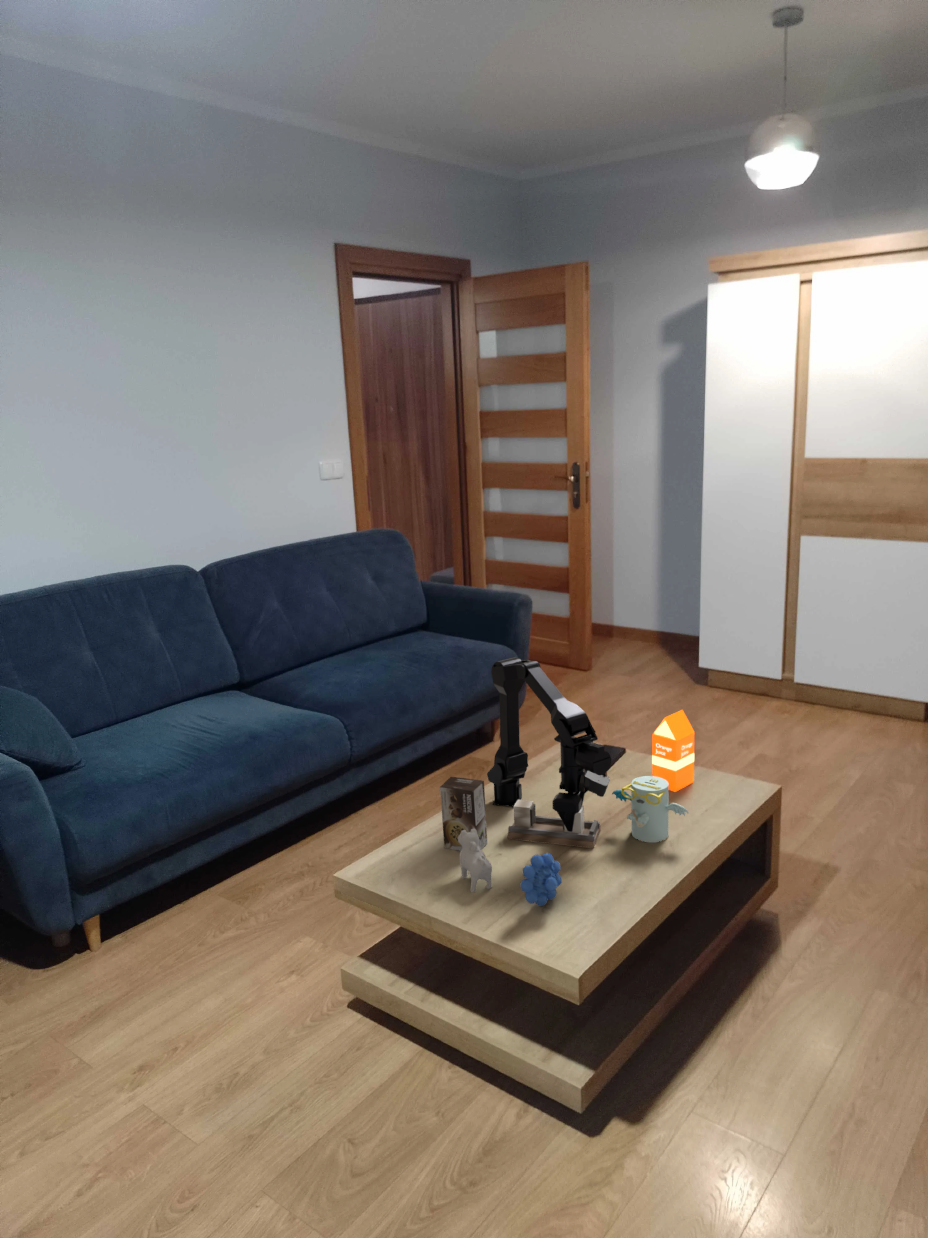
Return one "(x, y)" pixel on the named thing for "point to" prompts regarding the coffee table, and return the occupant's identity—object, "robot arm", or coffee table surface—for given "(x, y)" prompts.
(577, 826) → the off-white square prism
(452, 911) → the coffee table surface
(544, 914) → the coffee table surface
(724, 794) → the coffee table surface
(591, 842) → the rail
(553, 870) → the grapes
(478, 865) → the dog figurine
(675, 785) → the orange juice
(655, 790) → the character sculpture
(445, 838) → the coffee box
